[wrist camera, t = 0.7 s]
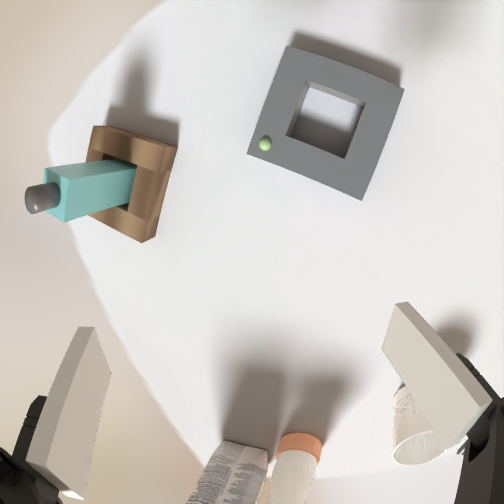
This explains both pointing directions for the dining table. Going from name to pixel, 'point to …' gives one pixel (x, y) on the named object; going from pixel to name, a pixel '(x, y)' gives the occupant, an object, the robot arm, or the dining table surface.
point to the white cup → (412, 432)
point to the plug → (82, 188)
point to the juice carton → (232, 476)
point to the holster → (145, 182)
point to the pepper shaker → (294, 468)
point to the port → (340, 85)
